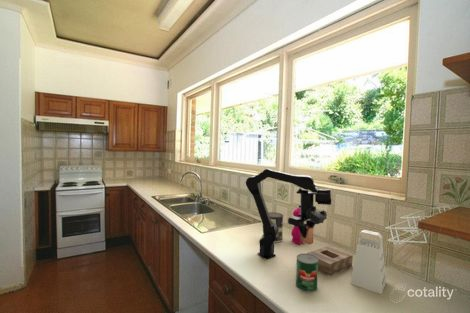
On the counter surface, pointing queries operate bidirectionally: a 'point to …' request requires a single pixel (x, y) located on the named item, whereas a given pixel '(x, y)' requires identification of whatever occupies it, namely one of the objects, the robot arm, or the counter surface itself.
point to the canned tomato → (306, 272)
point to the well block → (332, 260)
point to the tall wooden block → (307, 236)
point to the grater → (369, 264)
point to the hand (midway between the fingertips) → (306, 237)
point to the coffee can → (279, 222)
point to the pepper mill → (296, 229)
